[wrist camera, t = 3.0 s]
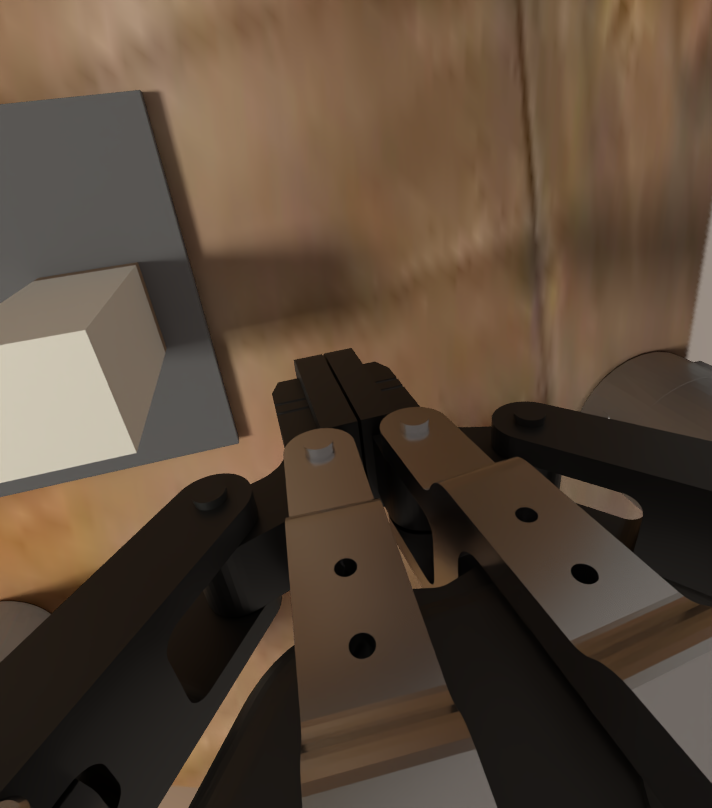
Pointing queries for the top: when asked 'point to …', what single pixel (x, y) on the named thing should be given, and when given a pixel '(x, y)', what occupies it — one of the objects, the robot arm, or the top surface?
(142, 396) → the cream block
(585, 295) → the top surface
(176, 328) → the mat
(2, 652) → the coffee cup
